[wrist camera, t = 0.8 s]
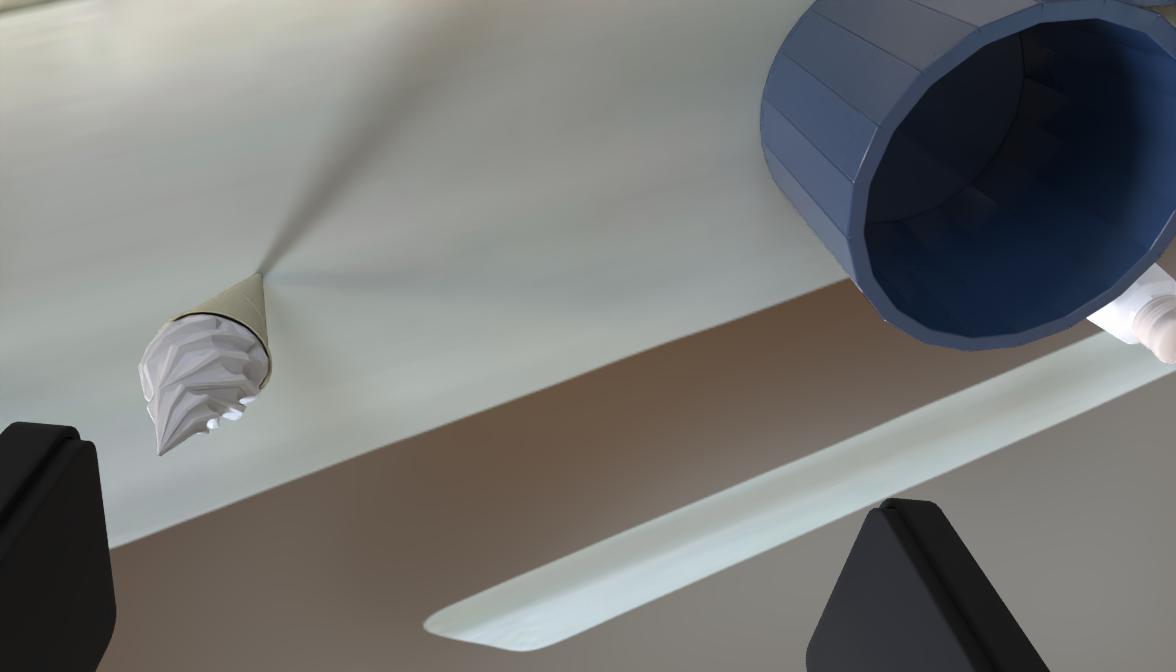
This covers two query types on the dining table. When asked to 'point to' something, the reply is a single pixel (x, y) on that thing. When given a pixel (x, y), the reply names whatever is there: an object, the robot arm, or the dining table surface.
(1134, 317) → the salt shaker
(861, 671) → the robot arm
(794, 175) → the pot
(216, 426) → the ice cream cone
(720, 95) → the dining table surface
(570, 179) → the dining table surface
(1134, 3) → the lid
